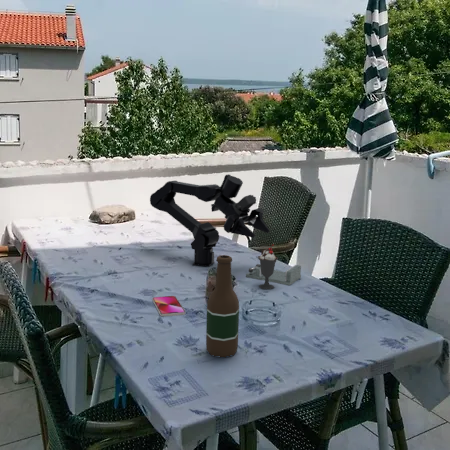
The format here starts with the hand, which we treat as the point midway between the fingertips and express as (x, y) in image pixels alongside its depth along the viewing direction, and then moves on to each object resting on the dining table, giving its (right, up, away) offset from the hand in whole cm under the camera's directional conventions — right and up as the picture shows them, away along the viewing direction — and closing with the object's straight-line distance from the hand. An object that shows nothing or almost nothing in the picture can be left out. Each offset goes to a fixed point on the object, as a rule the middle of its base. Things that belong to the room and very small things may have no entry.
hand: (261, 234), depth 188 cm
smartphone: (-29, -21, -25) cm, 44 cm away
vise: (+4, -15, +4) cm, 16 cm away
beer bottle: (-13, -28, -54) cm, 62 cm away
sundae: (+1, -18, -6) cm, 19 cm away
